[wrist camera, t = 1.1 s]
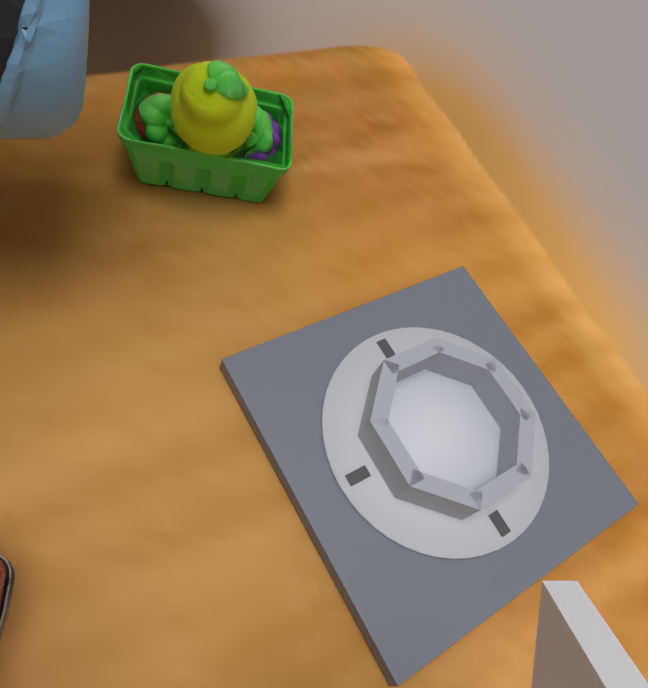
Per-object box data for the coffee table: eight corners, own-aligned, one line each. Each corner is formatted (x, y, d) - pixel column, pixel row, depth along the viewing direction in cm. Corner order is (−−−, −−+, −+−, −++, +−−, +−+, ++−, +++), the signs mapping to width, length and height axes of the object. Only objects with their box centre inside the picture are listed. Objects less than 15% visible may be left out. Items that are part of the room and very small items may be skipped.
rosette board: (219, 368, 37) (227, 336, 34) (456, 275, 46) (480, 243, 43) (389, 685, 31) (419, 686, 28) (626, 508, 40) (670, 492, 36)
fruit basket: (281, 146, 48) (314, 14, 39) (277, 232, 44) (314, 107, 34) (133, 118, 46) (129, -31, 36) (114, 206, 41) (105, 63, 32)
